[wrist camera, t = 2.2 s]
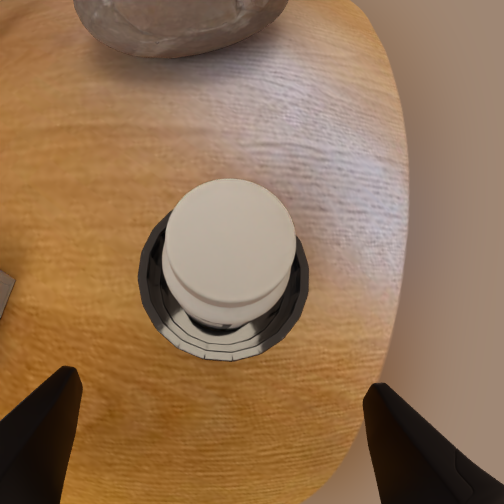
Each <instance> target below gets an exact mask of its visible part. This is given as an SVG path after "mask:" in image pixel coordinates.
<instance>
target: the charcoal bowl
mask: <svg viewBox="0 0 504 504" xmlns="http://www.w3.org/2000/svg"><path fill="white" fill-rule="evenodd" d="M173 210H174V209H173ZM173 210H172V211H173ZM172 211H170V212H169V213H168V214H167V215H166V216H165V217H164V218H163V219H162V220H161V221H160V222H159V223H158V224H157V225H156V226H155V227H154V229H153V230H152V232H151V234H150V236H149V238H148V240H147V242H146V244H145V246H144V248H143V250H142V252H141V257H140V264H139V271H138V284H139V289H140V295H141V300H142V304H143V307H144V309H145V310H146V312H147V314H148V316H149V318H150V319H151V321H152V323H153V325H154V326H155V328H156V329H157V331H159V332H160V333H161V334H162V335H163V336H164V337H165V338H166V339H167V340H169V341H170V342H171V343H172V344H173V345H174V346H175V347H176V348H178V349H180V350H182V351H185V352H187V353H189V354H192V355H194V356H196V357H199V358H201V359H205V360H215V361H229V362H232V361H237V360H241V359H245V358H249V357H253V356H257V355H259V354H262V353H263V352H265V351H266V350H268V349H269V348H271V347H273V346H274V345H276V344H277V343H279V342H280V341H282V340H283V339H284V338H285V337H286V335H287V334H288V333H289V331H290V330H291V329H292V328H293V326H294V325H295V324H296V322H297V321H298V320H299V318H300V316H301V313H302V310H303V308H304V305H305V302H306V299H307V296H308V292H309V267H308V263H307V260H306V256H305V253H304V250H303V247H302V244H301V242H300V240H299V239H298V237H297V236H296V251H295V256H294V260H293V263H292V266H291V271H290V277H289V281H288V284H287V286H286V289H285V291H284V293H283V294H282V296H281V297H280V299H279V300H278V301H277V303H276V304H275V305H274V306H273V307H272V308H271V309H270V310H269V311H267V312H266V313H265V314H263V315H262V316H260V317H258V318H256V319H255V320H253V321H252V322H250V323H248V324H247V325H245V326H243V327H240V328H237V329H233V330H229V331H217V330H212V329H208V328H205V327H203V326H201V325H199V324H198V323H196V322H195V321H193V320H192V319H191V318H190V317H189V316H188V315H187V314H186V313H185V311H184V310H183V308H182V307H181V305H180V304H179V302H178V301H177V300H176V299H175V297H174V296H173V294H172V293H171V291H170V289H169V287H168V285H167V282H166V279H165V276H164V273H163V268H162V253H163V247H164V243H165V233H166V228H167V223H168V220H169V217H170V215H171V213H172Z"/></svg>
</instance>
